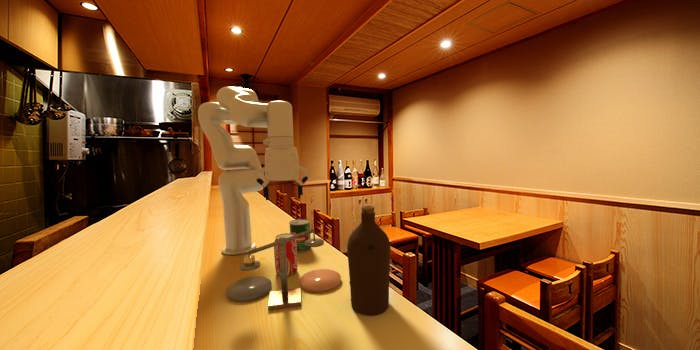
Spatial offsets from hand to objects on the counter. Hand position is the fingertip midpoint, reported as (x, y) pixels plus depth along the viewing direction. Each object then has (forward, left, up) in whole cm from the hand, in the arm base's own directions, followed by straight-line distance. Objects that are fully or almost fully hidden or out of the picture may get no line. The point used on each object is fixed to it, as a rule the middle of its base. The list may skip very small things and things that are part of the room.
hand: (283, 198), depth 88 cm
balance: (+17, 0, -24) cm, 29 cm away
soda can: (0, 0, -24) cm, 24 cm away
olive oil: (+24, +21, -24) cm, 40 cm away
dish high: (+9, +10, -24) cm, 27 cm away
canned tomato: (-20, +5, -24) cm, 32 cm away
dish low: (+9, -10, -24) cm, 28 cm away
